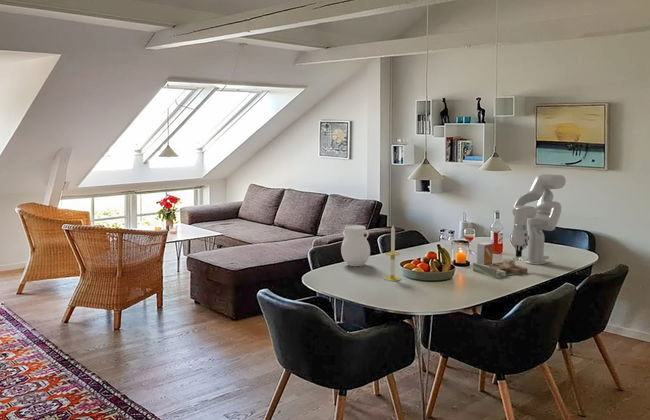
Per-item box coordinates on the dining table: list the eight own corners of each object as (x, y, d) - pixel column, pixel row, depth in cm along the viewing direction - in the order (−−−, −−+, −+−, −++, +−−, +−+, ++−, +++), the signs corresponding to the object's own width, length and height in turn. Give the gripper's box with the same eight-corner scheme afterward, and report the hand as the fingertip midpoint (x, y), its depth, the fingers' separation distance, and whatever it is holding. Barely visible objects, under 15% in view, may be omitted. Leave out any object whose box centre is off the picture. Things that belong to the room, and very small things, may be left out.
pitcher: (336, 267, 405) (336, 228, 402) (346, 261, 422) (346, 223, 419) (364, 269, 398) (364, 230, 395) (373, 263, 415) (374, 225, 412)
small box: (483, 264, 410) (484, 244, 408) (476, 263, 415) (477, 243, 413) (492, 263, 414) (493, 243, 412) (485, 261, 420) (485, 241, 418)
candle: (396, 282, 369) (397, 226, 364) (380, 279, 374) (381, 224, 369) (403, 278, 377) (404, 223, 372) (388, 276, 382) (389, 222, 378)
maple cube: (509, 264, 397) (509, 258, 396) (514, 266, 392) (515, 260, 392) (502, 265, 395) (503, 259, 394) (508, 267, 390) (508, 261, 390)
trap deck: (504, 266, 405) (504, 258, 405) (527, 273, 388) (527, 265, 387) (472, 270, 394) (473, 262, 394) (494, 278, 377) (495, 269, 376)
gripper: (533, 228, 388) (532, 258, 391) (516, 225, 402) (514, 254, 404) (524, 229, 385) (522, 259, 387) (507, 225, 398) (505, 254, 401)
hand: (518, 256), depth 396 cm, fingers closed
